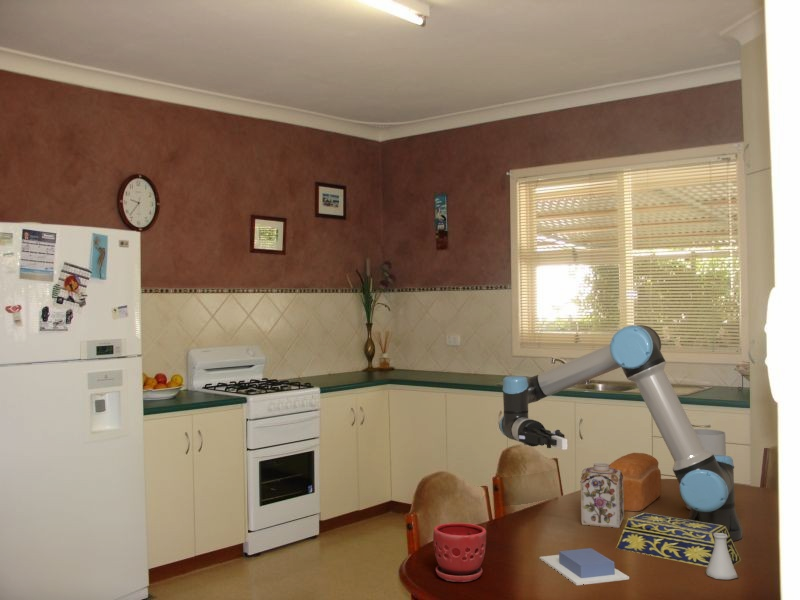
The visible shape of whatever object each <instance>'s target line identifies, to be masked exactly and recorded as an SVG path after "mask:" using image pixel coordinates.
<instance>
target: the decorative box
mask: <svg viewBox="0 0 800 600" xmlns="http://www.w3.org/2000/svg"><path fill="white" fill-rule="evenodd" d="M714 533H724V534H727V536H728V537H727V538H726V544H727V549H728V553H729V556H730V558H731V561H732V564H733V566H734V567H735V565H736V564H738V563H739V562H741V561H742V560H741V557H740V555H739V552H738V551H737V549H736V547H735V544H734V541H732V539H731V538H730V535H729V533H728V531H727V528H726V526H725V525H719V524H713V523H707V522H700V521H694V520H688V518H683V517H682V518H681V517H675V516H670V515H664V514H658V513H657V514H656V513H649V512H645V511H642V512H640V513H637V514H634V515H633V516H631V517H628V518H627V520H626V523H625V525H624V528H623V530H622V532H621V535H620V538H619V540H618V543H617V545H616V546H615V549H616V548H617V550H620V549H621V550H620V551H625V550H627V551H626V552H630V551H632V553H635V552H637V553H636V554H640V553H642V554H641V555H645V554H646V556H650V555H651V556H650V557H656V558H661V559H666V560H671V561H676V562H681V563H685V564H690V565H695V566H700V567H704V568H705V567H706V568H707V566H708V564H709V561H710V558H711V555H712V552H713V549H714V543H715V537H714V536H713V534H714Z"/></svg>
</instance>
